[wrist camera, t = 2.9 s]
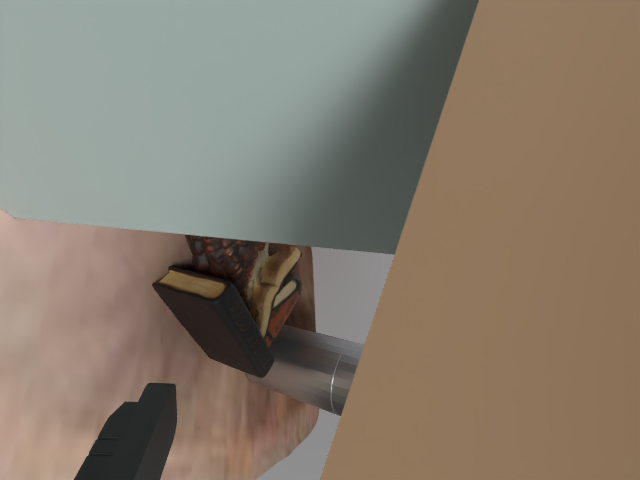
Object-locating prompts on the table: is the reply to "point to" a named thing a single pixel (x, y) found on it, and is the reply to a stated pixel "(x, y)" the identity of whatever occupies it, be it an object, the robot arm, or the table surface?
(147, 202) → the stand
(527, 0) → the walnut bar
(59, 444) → the table surface
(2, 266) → the table surface
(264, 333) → the bookend
